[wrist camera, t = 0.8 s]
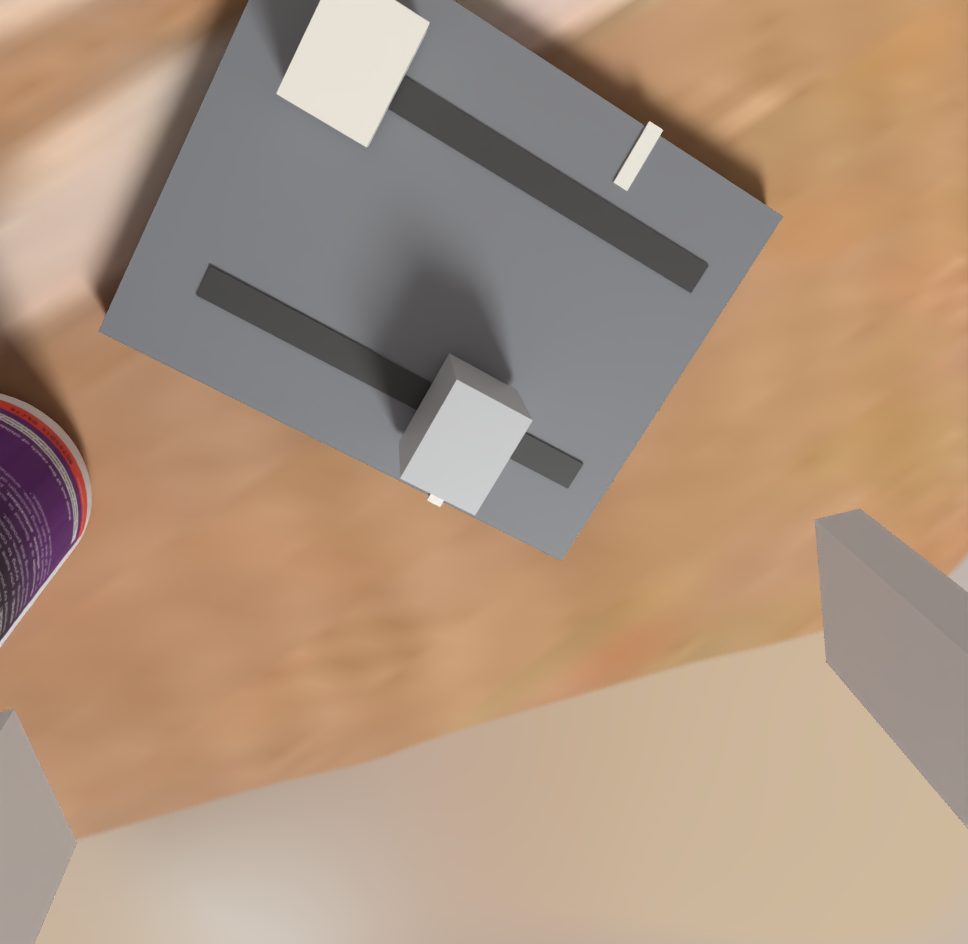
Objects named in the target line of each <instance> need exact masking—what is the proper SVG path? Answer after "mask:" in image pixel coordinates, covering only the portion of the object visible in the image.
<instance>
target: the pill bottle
mask: <svg viewBox="0 0 968 944" xmlns="http://www.w3.org/2000/svg"><path fill="white" fill-rule="evenodd" d="M91 503H92V492H91V483H90V478H89V474H88V471H87V468H86V465H85V463H84V460H83V458H82V456H81V454H80V452H79V451H78V449H77V447H76V446H75V444H74V443H73V441H72V440H71V438H70V437H69V436H68V435H67V434H66V432H65V431H64V430H63V429H62V428H61V427H60V426H59V425H58V424H57V423H56V422H54V421H53V420H52V419H51V418H50V417H48V416H47V415H46V414H44V413H43V412H41V411H40V410H38V409H37V408H35V407H33V406H32V405H30V404H28V403H26V402H23V401H21V400H19V399H16V398H13V397H10V396H8V395H4V394H1V393H0V647H1V646H2V645H3V643H4V642H5V641H6V639H7V638H8V637H9V635H10V634H11V633H12V631H13V630H14V629H15V627H16V626H17V625H18V623H19V622H20V620H21V619H22V618H23V616H24V615H25V614H26V612H27V611H28V610H29V609H30V607H31V606H32V604H33V603H34V602H35V600H36V599H37V598H38V596H39V595H40V594H41V592H42V591H43V590H44V588H45V587H46V586H47V584H48V583H49V582H50V581H51V579H52V578H53V577H54V575H55V574H56V573H57V571H58V570H59V569H60V568H61V566H62V565H63V564H64V562H65V561H66V560H67V558H68V557H69V556H70V554H71V552H72V551H73V550H74V548H75V547H76V546H77V544H78V543H79V541H80V539H81V538H82V536H83V534H84V532H85V529H86V527H87V524H88V520H89V517H90V512H91Z"/></svg>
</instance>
